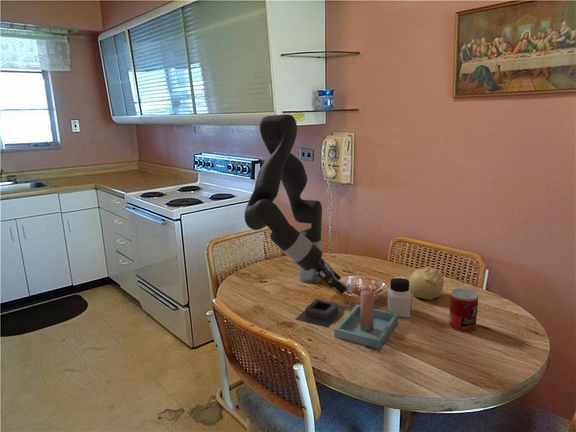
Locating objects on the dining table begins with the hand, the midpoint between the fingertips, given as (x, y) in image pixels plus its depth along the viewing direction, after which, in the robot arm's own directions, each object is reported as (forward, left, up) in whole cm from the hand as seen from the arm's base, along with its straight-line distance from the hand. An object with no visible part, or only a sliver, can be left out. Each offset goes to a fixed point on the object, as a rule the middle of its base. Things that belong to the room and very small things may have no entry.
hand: (341, 285), depth 123 cm
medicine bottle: (-22, +12, -16) cm, 29 cm away
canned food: (-22, +32, -16) cm, 42 cm away
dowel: (-5, +7, -15) cm, 17 cm away
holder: (-8, -10, -16) cm, 21 cm away
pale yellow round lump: (-39, +17, -16) cm, 45 cm away
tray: (-5, +7, -16) cm, 18 cm away
